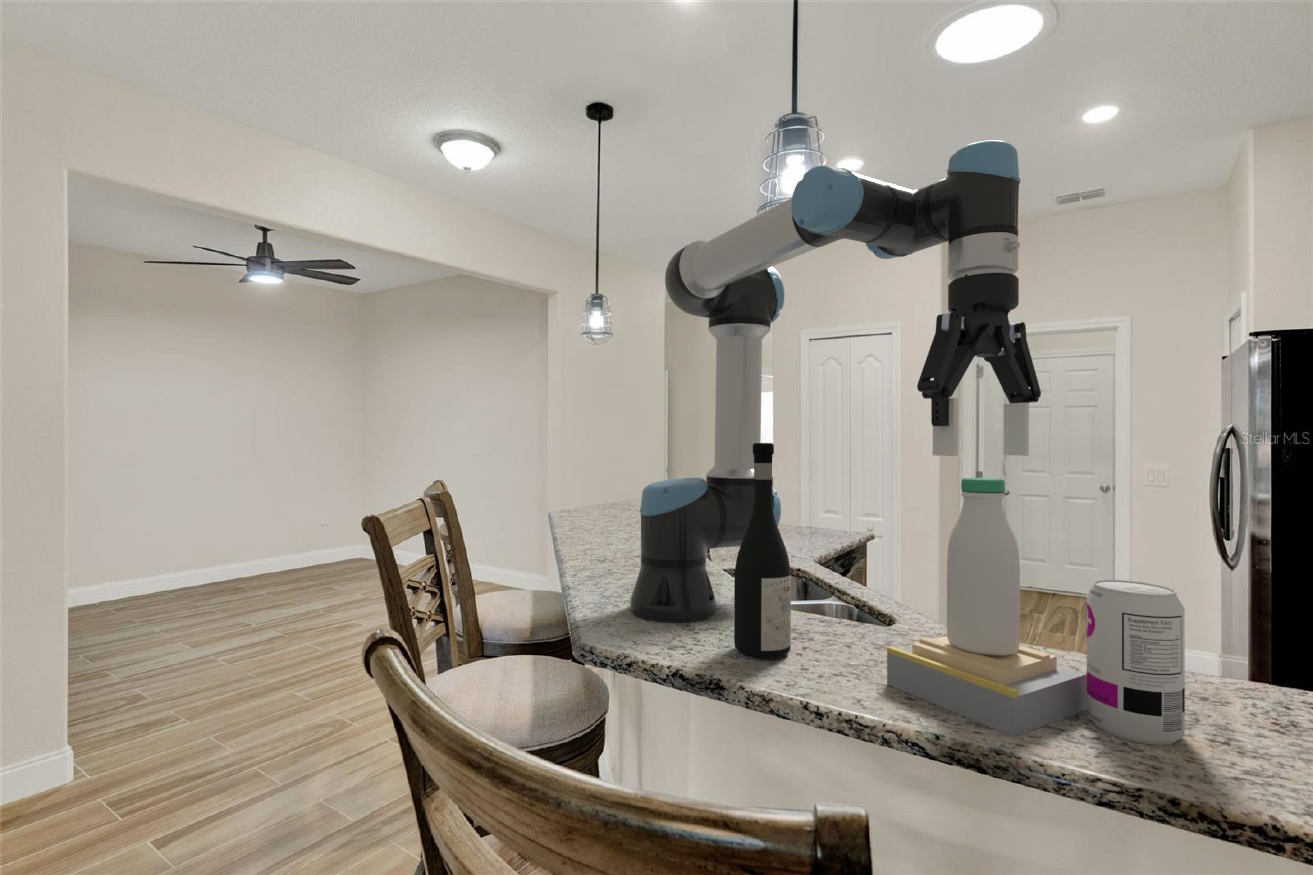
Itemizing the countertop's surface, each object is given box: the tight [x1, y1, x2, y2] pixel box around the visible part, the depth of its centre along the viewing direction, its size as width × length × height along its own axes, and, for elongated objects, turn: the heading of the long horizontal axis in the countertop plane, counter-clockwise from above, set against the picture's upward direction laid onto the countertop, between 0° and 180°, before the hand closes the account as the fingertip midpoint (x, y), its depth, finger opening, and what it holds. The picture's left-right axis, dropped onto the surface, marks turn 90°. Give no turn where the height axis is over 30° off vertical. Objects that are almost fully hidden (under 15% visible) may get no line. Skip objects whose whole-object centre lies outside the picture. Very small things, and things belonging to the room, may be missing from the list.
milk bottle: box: [946, 477, 1021, 655], centre depth 75 cm, size 8×8×20 cm
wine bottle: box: [733, 442, 792, 660], centre depth 90 cm, size 8×8×30 cm
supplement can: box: [1086, 579, 1186, 746], centre depth 66 cm, size 8×8×15 cm
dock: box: [886, 635, 1087, 738], centre depth 75 cm, size 16×14×6 cm
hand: (982, 455), depth 75 cm, fingers open, 13 cm apart
